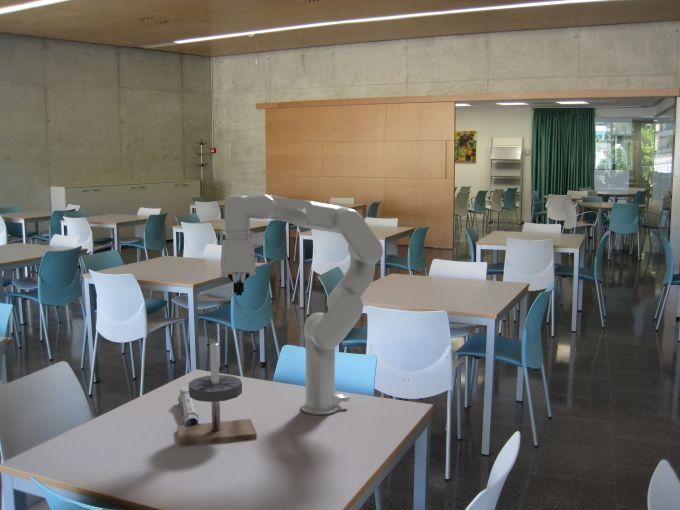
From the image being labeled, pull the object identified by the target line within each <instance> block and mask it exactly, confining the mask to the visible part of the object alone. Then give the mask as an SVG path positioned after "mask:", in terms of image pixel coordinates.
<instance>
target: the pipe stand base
mask: <svg viewBox="0 0 680 510" xmlns="http://www.w3.org/2000/svg"><path fill="white" fill-rule="evenodd" d="M176 432H177V439H178V446H179V447H180V448H181V447H187V446H199V445H207V444H218V443H225V442H226V443H227V442H235V441H245V440H254V438H256V439H257V438H258V435H257V434H258V433H257V431H256V428H255V426H254V424H253V422H252V419H251V418H244V419H235V420H234V419H233V420H226V421H220V431H212V422H204V423H198V424H193V425H183V424H182V425H177V426H176Z"/></svg>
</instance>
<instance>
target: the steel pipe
mask: <svg viewBox="0 0 680 510" xmlns="http://www.w3.org/2000/svg"><path fill="white" fill-rule="evenodd" d="M209 346H210V351H209V353H210V376H211V385H219V384H220V383H219V375H220V350H219V349H220V348H219V346H220V345H219V343H217V342H212V343H211V342H210V345H209ZM220 422H221V401H217V402H211V423H212V431H220Z"/></svg>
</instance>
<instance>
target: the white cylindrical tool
mask: <svg viewBox="0 0 680 510" xmlns="http://www.w3.org/2000/svg"><path fill="white" fill-rule="evenodd" d="M194 400H195V399H193V398H190V395H189V386H187V385H186V386H182V387H181V388H180V390H179V394H178V395H177V401H178V406H179V407H181V408H183V423H184V424H185V425H193V424H199V415H198V414H197V410H196V408H195V404H194Z"/></svg>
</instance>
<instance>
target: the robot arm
mask: <svg viewBox="0 0 680 510" xmlns="http://www.w3.org/2000/svg"><path fill="white" fill-rule="evenodd" d="M362 216H363V215H361V214H360V213H359V212H358V211H357V210H355V209H353V208H349V207H346V206H340V205H336V204H329V203H328V204H327V203H323V202H318V201H313V200H308V199H307V200H305V199H296V198H289V197H288V198H287V197H281V196H276V195H270V194H265V193H255V194H253V195H251V196H248V195H243V194H233V195H232V194H231V195H227V196H226V197H225V198H224V228H225V229H224V232H225V233H224V235H225V236H224V237H225V239H223V240H222V241H221V242H222V243H221V249H220V250H221V251H220V255H221V256H220V269H221V271H220V277H223V278H228V279H230V280H231V282H232V283H233V287H232V288H233V293H235V296H236V297H238V296H240V297H241V296H243V293H245V292H244V291H245V288H244V287H245V281H247V280H248V278H249V277H253V276H256V275H257V272H256V259H255V246H254V241H253V239H251V238H252V237H254V236H256V232H255V231H252V230H251V219H255V220H269V219H271V220H274V221H281V222H285V223H288V224H292V225H294V226H296V227H301V228H305V229H310V230H311V229H312V230H318V231H324V232H328V233H335V234H336V233H337V234H340V235H342V237H343V239H344V240H345V241H346V243H347V244H348V246H347V248H348V253H349V257H350V261H349V267H348V269H347V270H346V272H345V274H344V275H343V276H342V278H341V279H340V280H339V281H338V282H337V284H336V285H335V287H334V288H333V289H332V291H330V292H329V294H328V296H327V299H326V306H327V308H328V311H327V312H326V313H325V312H314V313H312V314H310V315H309V316H308V317H307V318H306V320H305V322H304V325H303V336H304V337H303V339H304V346H305V348H304V349H305V401H303V402H302V403H301V404H300V410H301V411H302V412H304V413H306V414H309V415H314V416H315V415H317V416H319V415H320V416H323V415H331V414H334V413H336V412H337V411H340V408H341V407H340V403H347V402H349V401H350V396H349V395H344V394H341V393H340V394H336V381H335V380H336V377H335V376H336V350H335V348H337V347H338V346H339V345H340V344H341V343H342V342H343V340H344V339H345V338H346V337H347V336H348V334H350V332H351V331H352V329H353V327H354V326H355V325H356V324H357V322H358V321H359V320H360V318H361V317H362V314H363V311H364V302H363V299H362V296H363V295H364V293H366V291H367V290H368V288H369V287H370V285H371V283H372V281H373V279H374V277H375V274H376V273H375V271H376V264H377V263H378V262H379V261H380V260H381V259H382V257H383V253H384V249H383V246H382V243H381V241H380V240H379V238H378V237H377V236H376V234H375V233H374V232H373V230H372V229H371V227H370V226H369V224H368V223H367V221H365V219H364V218H363V217H362ZM237 274H239V275H240V276H239V279H238V278H237Z"/></svg>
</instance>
